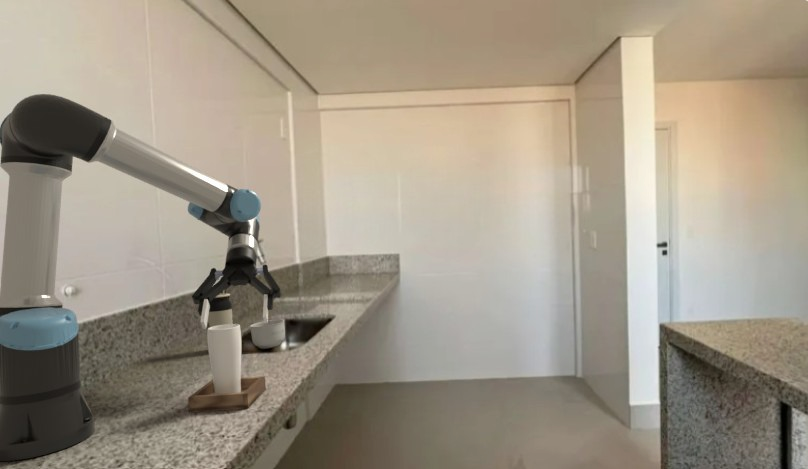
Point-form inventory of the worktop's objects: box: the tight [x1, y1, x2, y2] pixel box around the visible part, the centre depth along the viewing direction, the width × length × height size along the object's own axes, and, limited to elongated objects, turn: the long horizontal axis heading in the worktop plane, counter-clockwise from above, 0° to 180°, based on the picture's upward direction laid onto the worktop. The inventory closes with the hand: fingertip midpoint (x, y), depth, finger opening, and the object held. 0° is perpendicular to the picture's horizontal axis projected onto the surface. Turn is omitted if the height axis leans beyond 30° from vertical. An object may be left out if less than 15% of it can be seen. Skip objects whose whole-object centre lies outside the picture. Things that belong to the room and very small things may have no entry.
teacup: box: [249, 319, 286, 350], centre depth 156 cm, size 14×11×8 cm
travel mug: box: [206, 293, 234, 353], centre depth 153 cm, size 8×8×18 cm
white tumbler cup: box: [206, 323, 243, 394], centre depth 101 cm, size 7×7×15 cm
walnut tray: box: [187, 375, 267, 413], centre depth 101 cm, size 12×12×3 cm
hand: (234, 322), depth 108 cm, fingers open, 13 cm apart
